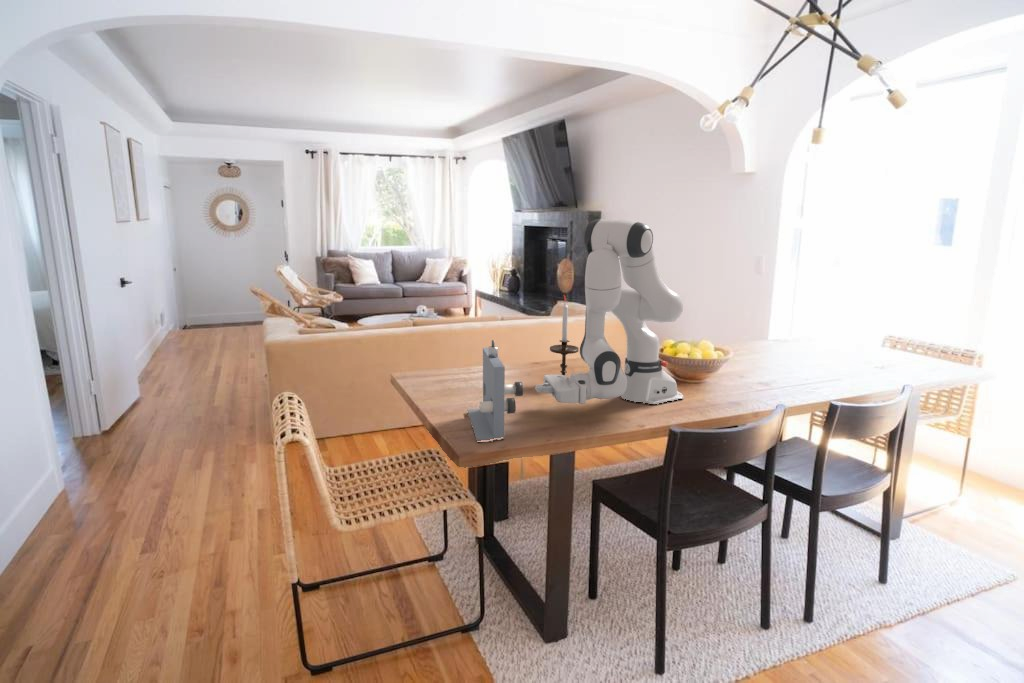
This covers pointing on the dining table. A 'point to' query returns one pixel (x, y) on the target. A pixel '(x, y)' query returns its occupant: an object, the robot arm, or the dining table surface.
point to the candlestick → (564, 341)
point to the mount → (493, 390)
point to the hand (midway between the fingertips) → (536, 388)
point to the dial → (492, 351)
